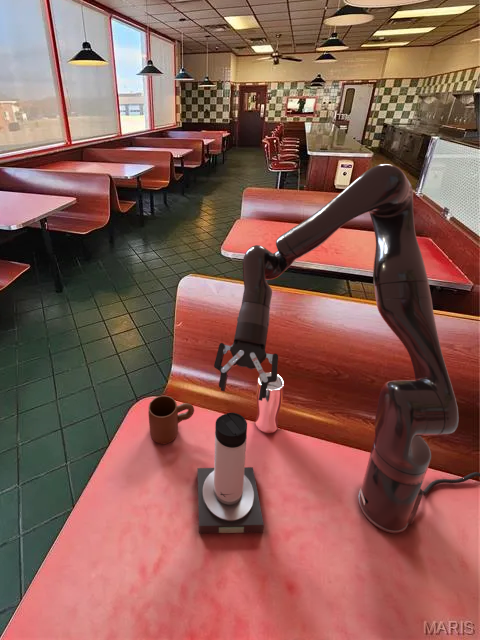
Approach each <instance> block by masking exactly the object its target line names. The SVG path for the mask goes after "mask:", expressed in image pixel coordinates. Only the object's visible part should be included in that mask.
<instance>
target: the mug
mask: <svg viewBox="0 0 480 640" xmlns="http://www.w3.org/2000/svg"><path fill="white" fill-rule="evenodd" d="M186 410H187V411H186ZM184 411H186V412H184ZM194 414H195V408H194V406H193V405H192V404H191V403H190V402H184V403H181V404H179V405H178V404H177V401H176V400H175V399H174V398H173V397H172V396H170V395H159V396H156V397H155V398H153V399H152V400H151V401H150V402H149V404H148V424H149V425H148V426H149V435H150V438H151V439H152V440H153V441H154V442H156V443H157V444H161V445H165V444H169V443H171V442H173V441H174V440H175V438H176V437H177V436H178V433H179V423H181V422H183V421H186V420H189V419H191V418H192V416H193V415H194Z"/></svg>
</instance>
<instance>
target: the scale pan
mask: <svg viewBox="0 0 480 640" xmlns="http://www.w3.org/2000/svg"><path fill="white" fill-rule="evenodd" d="M203 500H204V503H205V506H206V507H207V509H208V511H209V512H210V513H211V514H212V515H213V516H214V517H216V518H217V519H219V520H221V521H224V522H237V521H240V520H242V519H244V518H245V517H246V516H247V515H248V514H249V513H250V511H251V509H252V507H253V502H254V491H253V488H252V485H251V483H250V481H249V480H248V478H247V477H246V476H245V475H244V482H243V494H242V497H241V499H240V500H239V501H238V502H237V503H235V504H232V505H227V504H224V503H222V502H220V501H219V500H218V499H217V497H216V496H215V493H214V471H213V472H211V473H210V474H209V475H208V477H207V478H206V480H205V482H204V485H203Z"/></svg>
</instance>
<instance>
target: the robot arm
mask: <svg viewBox="0 0 480 640" xmlns="http://www.w3.org/2000/svg"><path fill="white" fill-rule="evenodd" d="M367 213H369V215H370V220H371V223H372V227H373V231H374V239H375V251H374V257H373V258H374V259H373V268H372V281H373V283H372V284H373V288H374V289H373V290H374V296H375V303H376V308H377V311H378V313H379V315H380V316H381V318H382V320H383V321H384V322H385V324H386V325H387V326H388V328H389V329H390V330H391V331H392V332H393V334H394V335H395V336H396V337H397V338H398V339H399V341H400V342H401V343H402V345H403V346H404V348H405V349H406V352H407V354H408V356H409V358H410V361H411V365H412V368H413V373H414V379H403V380H389V381H387V382H385V383H383V386H382V387H381V389H380V392H379V394H378V395H379V396H378V400H377V408H376V413H375V418H374V439H373V443H372V446H371V450H370V454H369V457H368V461H367V465H366V468H365V472H364V476H363V480H362V483H361V486H360V488H359V492H358V495H357V497H358V499H357V500H358V505H359V508H360V510H361V512H362V513H363V514H364V516H365V518H366V519H367V520H368V521H369V522H370V523H371V524H372V525H373V526H375V527H376V528H378V529H379V530H381V531H383V532H386V533H390V534H401V533H403V532H404V531H405V530H406V529H407V528H408V525H413V524H414V521H415V518H416V515H417V512H418V510H419V507H420V505H421V501H422V499H423V497H424V496H426V495H428V494H429V493H430V491H431V490H432V489H433V488H434V487H435V486H437V485H439V484H460V483H464V482H467V481H468V480H471V479H473V478H475V477H479V478H480V472H478V471H474V472H471V473H469V474H467V475H464V476H463V477H459V478H456V479H455V478H454V479H453V478H439V479H436V480H433V481H431V482H430V483H429V484H428V485H427V486H426V488H425V489H422V485H423V482H424V479H425V477H426V474H427V471H428V469H429V466H430V464H431V462H432V461H431V460H432V451H431V448H430V446H429V444H428V443H427V441H426V440H425V439H424V436H428V437H429V436H446V435H451V434H453V433H455V431H456V430H457V428H458V426H459V419H460V418H459V407H458V404H457V399H456V395H455V391H454V387H453V385H452V382H451V378H450V375H449V372H448V369H447V366H446V362H445V359H444V355H443V351H442V347H441V342H440V338H439V333H438V328H437V323H436V320H435V319H436V318H435V314H434V307H433V306H434V305H433V299H432V294H431V293H432V292H431V289H430V288H431V287H430V282H429V277H428V273H427V270H426V266H425V262H424V258H423V255H422V252H421V247H420V245H419V241H418V237H417V234H416V228H415V215H414V190H413V186H412V184H411V181H409V179H408V177H407V175H406V174H405V173H404V172H403V170H402V169H401V168H400V167H398V166H397V165H394V164H388V163H383V164H382V163H381V164H377V165H375V166H372V167H371V168H369V169H367V170H366V171H365V172H363V173H362V174H360V175H359V176H358V177H356V179H354V181H352V182H351V183H350V184H349V185H348V186H347V187H346V188H344V189H343V190H342V191H341V192H340V193H339V194H337V195H336V196H335V197H334V198H332V199H331V200H330V201H329V202H328V203H326V204H325V205H324V206H322V207H321V208H320V209H319V210H317V211H316V212H315V213H313V214H312V215H310V216H309V217H308V218H306V219H304V220H303V221H301V222H300V223H298V224H297V225H295V226H293V227H292V228H290V229H289V230H288V231H286V232H284V233H282V234H281V235H279V236H278V237H277V239H276V241H275V246H276V249H277V251H275V252H273V251H272V252H271V251H270V250H268V249H267V248H266V247H264V246H263V245H261V244H260V245H259V244H255V245H252V246H250V247H249V248H248V249H247V250H246V251H245V253H244V255H243V258H242V280H243V294H242V298H241V305H240V308H239V311H238V316H237V318H236V326H235V333H234V338H233V342H232V344H231V345H227V344H225V343H223V342H220V343H219V344H218V348H217V352H216V357H215V359H214V364H213V368H214V369H216V370H218V371H219V372H220V377H219V381H218V388H219V389H220V392H224V393H225V392H226V388H227V382H228V377H229V375H228V373H229V372H231V370H232V369H234V368H235V367H236V366H238V367H239V368H247V369H249V370H257V372H258V375H259V376H261V378H262V382H261V387H260V393H259V400H261V401H262V399H263V398H265V397H266V393H267V386H268V383H270V382H276V381H277V375H278V366H279V354H278V353H267V351H266V347H267V342H268V333H269V326H270V319H271V306H272V298H273V289H272V287H271V286H270V285H269V284H268V282H267V281H269V280H274V279H276V278H278V277H280V276H281V275H282V274H284V272H285V271H287V269H289V268H290V267H291V266H292V265H293V264H294V262H295V261H296V260H298V259H300V258H302V257H303V256H306V255H307V254H309V253H310V252H312V251H314V250H316V249H318V248H319V247H320V246H322V245H323V244H324V243H325V242H326V241H327V240H329V239H330V237H331V236H333V235H334V234H335V233H336V232H337V231H339V229H340V228H342V227H343V226H344V225H346V224H347V223H349V222H350V221H352V220H353V219H356V218H357V217H359V216H362V215H364V214H367ZM228 352H230V354H231V356H232V357H231V358H230V359H229V360H228V361H227V363H226V364H224V366H223V365H222V364H223V361H224V356H225V355H226V354H228ZM266 359H267V360H268V363H269V364H271V370H270V371H271V372H270V373H271V376H268V377H267V376H266V374H265V373H266V371H264V369H263V367H262V365H261V364H262V363H263V362H265V360H266ZM463 478H464V479H463Z"/></svg>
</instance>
